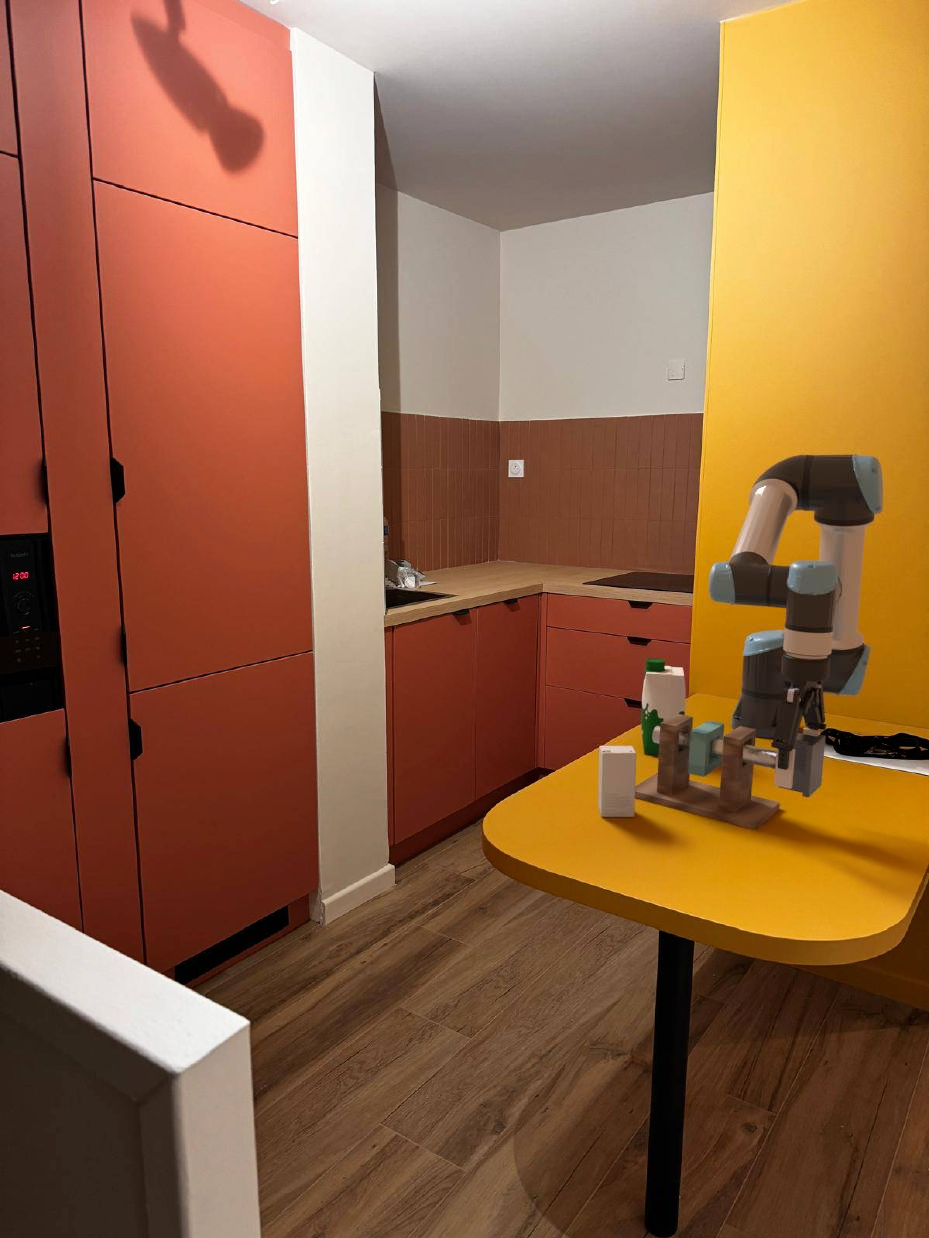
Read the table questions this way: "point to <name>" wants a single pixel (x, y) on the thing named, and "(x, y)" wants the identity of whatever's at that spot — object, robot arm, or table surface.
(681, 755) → the bearing stand
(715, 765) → the spacer ring
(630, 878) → the table surface
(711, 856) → the table surface
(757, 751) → the shaft
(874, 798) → the table surface
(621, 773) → the skincare box
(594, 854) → the table surface
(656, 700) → the milk carton
